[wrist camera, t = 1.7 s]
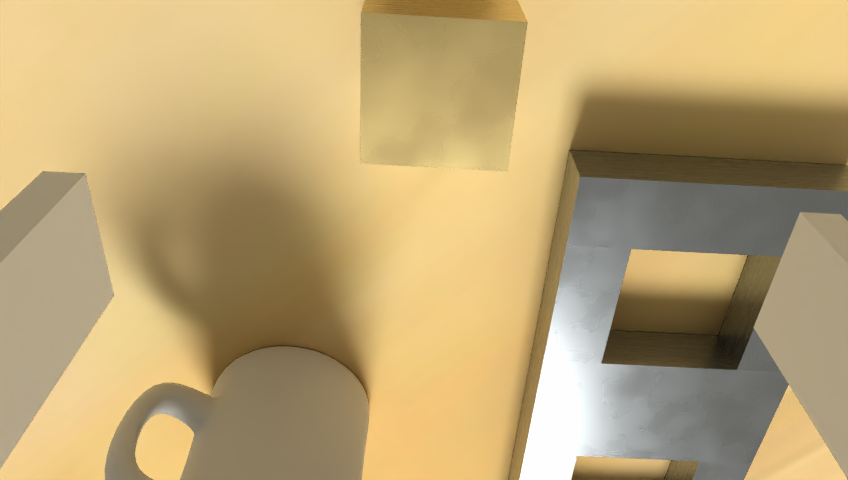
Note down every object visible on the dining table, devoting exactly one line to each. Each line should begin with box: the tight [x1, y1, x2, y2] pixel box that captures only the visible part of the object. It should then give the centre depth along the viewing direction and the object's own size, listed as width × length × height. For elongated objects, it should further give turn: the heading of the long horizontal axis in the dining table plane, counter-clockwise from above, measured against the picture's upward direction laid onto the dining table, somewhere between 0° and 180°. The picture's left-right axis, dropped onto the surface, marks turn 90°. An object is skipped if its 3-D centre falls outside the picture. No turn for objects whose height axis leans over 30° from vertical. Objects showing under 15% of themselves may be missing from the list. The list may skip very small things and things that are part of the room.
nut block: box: [360, 0, 527, 171], centre depth 23 cm, size 4×4×8 cm
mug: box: [105, 346, 369, 480], centre depth 32 cm, size 12×8×11 cm
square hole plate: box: [508, 150, 848, 480], centre depth 35 cm, size 26×12×2 cm, turn 177°
